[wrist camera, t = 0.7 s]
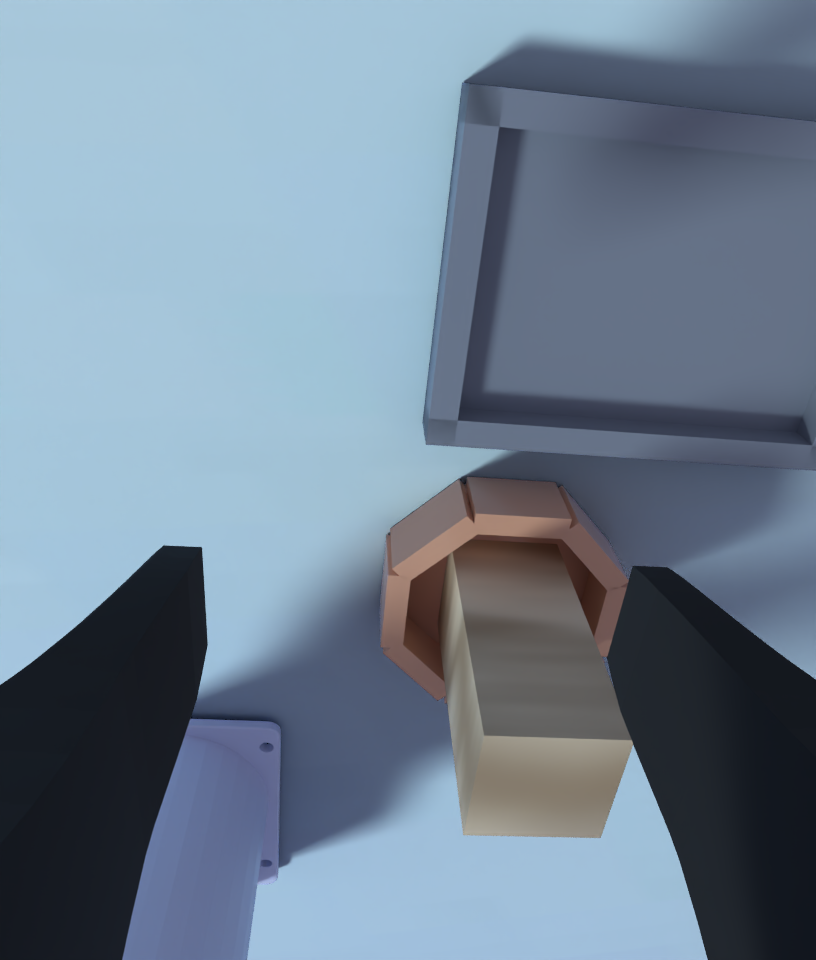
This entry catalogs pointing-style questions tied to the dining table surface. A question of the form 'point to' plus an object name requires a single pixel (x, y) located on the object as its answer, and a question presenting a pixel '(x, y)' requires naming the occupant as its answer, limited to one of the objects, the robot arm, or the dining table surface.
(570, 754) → the beech peg
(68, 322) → the dining table surface
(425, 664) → the terracotta octagonal bowl
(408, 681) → the dining table surface
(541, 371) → the slate tray
